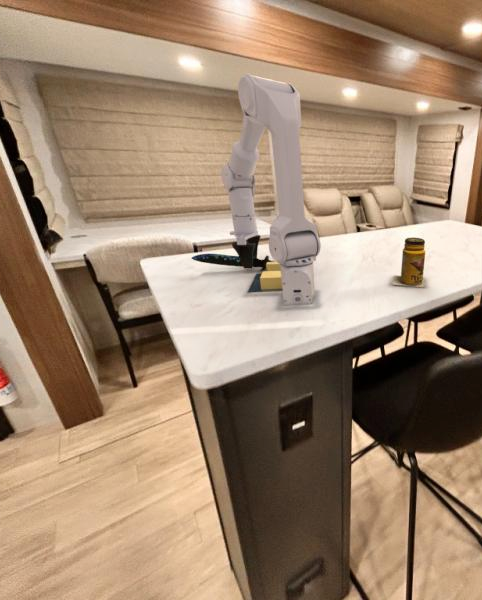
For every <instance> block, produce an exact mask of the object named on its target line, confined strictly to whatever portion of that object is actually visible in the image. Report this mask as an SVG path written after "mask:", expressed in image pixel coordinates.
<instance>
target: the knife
mask: <svg viewBox="0 0 482 600" xmlns="http://www.w3.org/2000/svg"><path fill="white" fill-rule="evenodd" d="M191 260H193V261H195V262H200V263H204V264H209V265H217V266H226V267H239V268H240V267H241V268H244V267H243V265H242V263H241V260H240V258H239V255H228V254H220V253H200V254H196V255H193V256H192V257H191ZM267 262H276V261H275V260H271V259H270V256H269V255H265V257H264V259H260V258H258V256H257V257H256V254H255V255H253V267H252V268H261V269H260V271H261V272H263V271H266V270H267V269H266V263H267Z"/></svg>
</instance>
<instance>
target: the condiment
mask: <svg viewBox="0 0 482 600" xmlns="http://www.w3.org/2000/svg"><path fill="white" fill-rule="evenodd" d="M425 244H426V241H425V239H424V238H422V237H421V238H420V237H406V238H405V239H404V247H403V249H402V257H401V270H400V271H401V272H400V275H393V279H392V286H405V287H414V288H425V282H424V271H425V262H426V261H425V259H426V249H425Z"/></svg>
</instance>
